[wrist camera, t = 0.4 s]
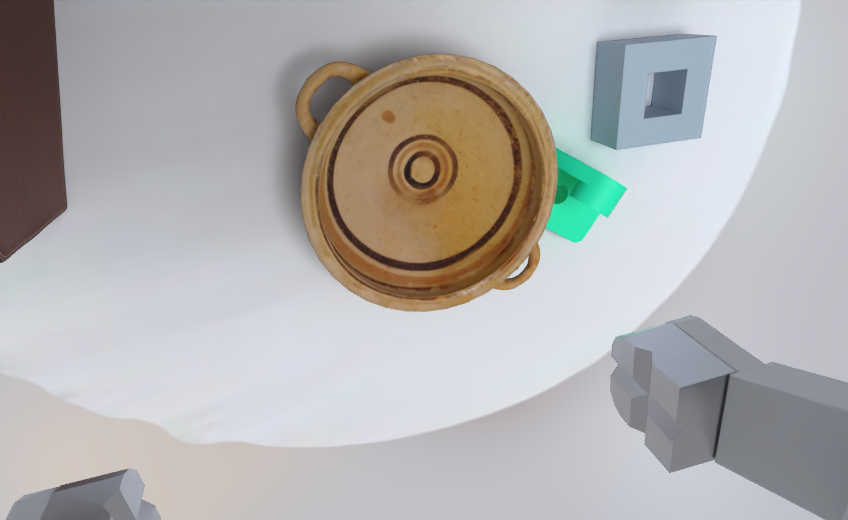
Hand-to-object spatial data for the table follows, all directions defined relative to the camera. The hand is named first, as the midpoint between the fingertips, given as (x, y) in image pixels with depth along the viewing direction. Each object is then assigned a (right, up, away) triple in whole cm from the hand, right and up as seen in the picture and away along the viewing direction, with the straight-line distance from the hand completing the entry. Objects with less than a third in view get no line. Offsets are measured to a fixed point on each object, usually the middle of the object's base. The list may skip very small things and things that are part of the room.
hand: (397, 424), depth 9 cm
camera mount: (+14, +11, +52) cm, 55 cm away
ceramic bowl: (0, +12, +47) cm, 49 cm away
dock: (+23, +21, +50) cm, 59 cm away
